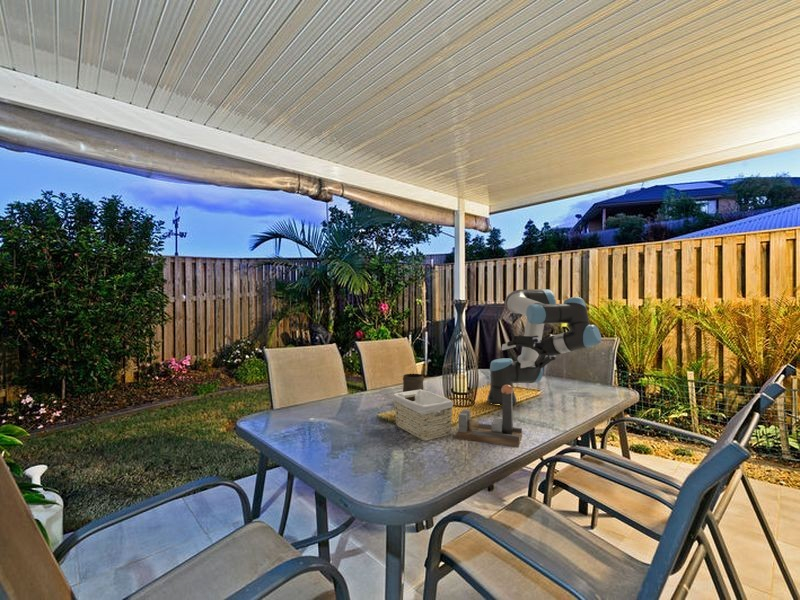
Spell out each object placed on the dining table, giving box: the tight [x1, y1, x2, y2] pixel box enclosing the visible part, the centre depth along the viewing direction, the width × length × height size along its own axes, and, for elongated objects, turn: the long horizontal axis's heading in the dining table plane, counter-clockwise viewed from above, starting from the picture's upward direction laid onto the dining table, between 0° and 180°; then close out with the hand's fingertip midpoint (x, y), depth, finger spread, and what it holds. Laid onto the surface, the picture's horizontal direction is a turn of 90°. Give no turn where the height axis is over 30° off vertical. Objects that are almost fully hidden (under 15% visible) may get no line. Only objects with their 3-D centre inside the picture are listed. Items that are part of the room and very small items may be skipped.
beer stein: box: [402, 373, 425, 401], centre depth 181 cm, size 15×11×20 cm
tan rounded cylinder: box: [468, 418, 479, 432], centre depth 152 cm, size 4×4×4 cm
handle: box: [490, 385, 514, 435], centre depth 147 cm, size 7×8×19 cm
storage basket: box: [392, 389, 454, 442], centre depth 158 cm, size 24×16×15 cm
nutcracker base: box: [455, 408, 523, 447], centre depth 149 cm, size 12×24×9 cm, turn 66°
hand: (511, 356), depth 160 cm, fingers open, 13 cm apart
